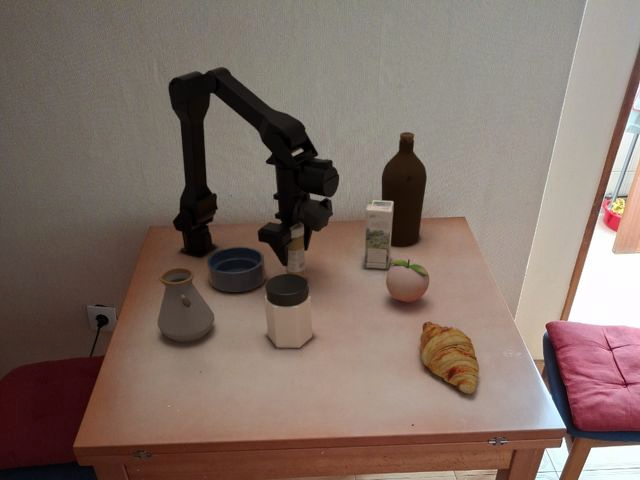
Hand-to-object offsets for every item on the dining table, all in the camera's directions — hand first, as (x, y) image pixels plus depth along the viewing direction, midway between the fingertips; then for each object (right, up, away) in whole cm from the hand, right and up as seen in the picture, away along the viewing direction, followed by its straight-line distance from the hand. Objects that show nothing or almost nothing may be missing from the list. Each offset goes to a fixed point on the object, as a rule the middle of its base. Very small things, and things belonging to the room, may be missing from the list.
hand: (295, 258), depth 136 cm
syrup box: (+19, +1, +9) cm, 21 cm away
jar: (-1, -20, -13) cm, 23 cm away
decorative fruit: (+24, -11, -4) cm, 27 cm away
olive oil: (+26, +10, +19) cm, 34 cm away
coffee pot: (-20, -21, -14) cm, 32 cm away
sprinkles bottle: (0, -4, +4) cm, 6 cm away
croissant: (+29, -26, -21) cm, 44 cm away
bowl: (-13, -4, +5) cm, 15 cm away
